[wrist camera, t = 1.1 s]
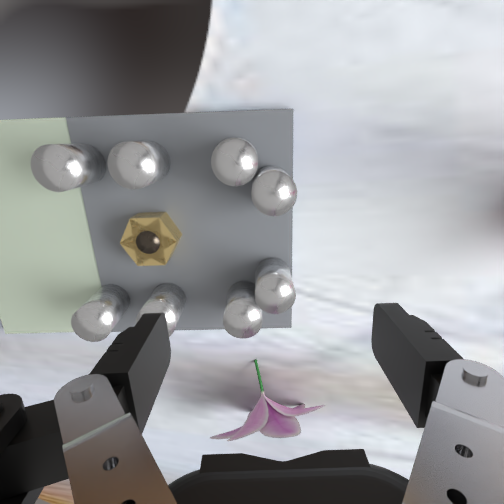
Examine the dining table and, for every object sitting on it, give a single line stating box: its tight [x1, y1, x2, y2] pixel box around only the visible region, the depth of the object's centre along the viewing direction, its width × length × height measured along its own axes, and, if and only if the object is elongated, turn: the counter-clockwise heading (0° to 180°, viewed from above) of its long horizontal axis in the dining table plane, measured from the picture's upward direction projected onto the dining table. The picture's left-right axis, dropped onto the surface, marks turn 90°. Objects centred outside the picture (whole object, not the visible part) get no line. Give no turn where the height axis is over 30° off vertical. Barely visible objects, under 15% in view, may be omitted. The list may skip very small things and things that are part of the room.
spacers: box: [30, 138, 297, 342], centre depth 29 cm, size 18×21×5 cm
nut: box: [120, 212, 182, 266], centre depth 31 cm, size 5×5×2 cm
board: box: [0, 109, 293, 334], centre depth 32 cm, size 22×32×1 cm
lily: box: [210, 360, 325, 441], centre depth 36 cm, size 12×12×10 cm
